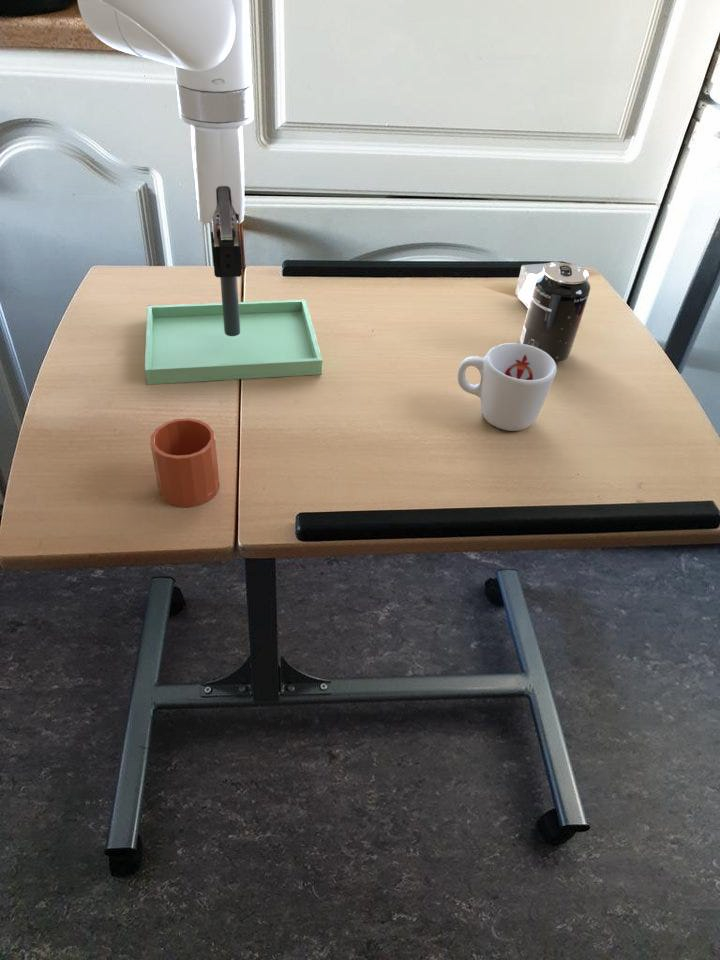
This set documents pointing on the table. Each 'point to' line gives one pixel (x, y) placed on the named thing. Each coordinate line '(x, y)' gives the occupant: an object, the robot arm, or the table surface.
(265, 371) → the tray
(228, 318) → the marker
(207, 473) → the pen cup
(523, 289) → the small box
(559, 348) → the beverage can
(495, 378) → the cup
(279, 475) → the table surface
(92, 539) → the table surface
